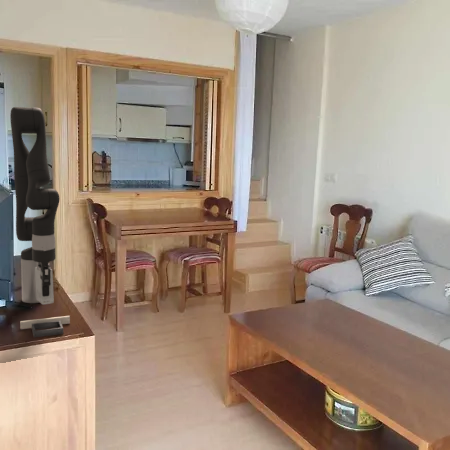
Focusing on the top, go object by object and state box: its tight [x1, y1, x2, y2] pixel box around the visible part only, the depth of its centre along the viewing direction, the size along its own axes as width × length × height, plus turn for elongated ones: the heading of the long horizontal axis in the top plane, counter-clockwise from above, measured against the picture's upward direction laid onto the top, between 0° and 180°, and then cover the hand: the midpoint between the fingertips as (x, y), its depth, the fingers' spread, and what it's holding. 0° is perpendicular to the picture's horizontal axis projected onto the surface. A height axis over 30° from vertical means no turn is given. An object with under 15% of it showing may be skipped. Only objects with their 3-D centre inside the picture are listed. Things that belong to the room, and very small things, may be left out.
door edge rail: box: [19, 315, 71, 330], centre depth 165 cm, size 1×16×2 cm, turn 117°
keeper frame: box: [31, 321, 64, 338], centre depth 160 cm, size 7×9×2 cm
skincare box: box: [35, 267, 55, 305], centre depth 167 cm, size 6×4×12 cm
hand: (44, 292), depth 167 cm, fingers closed on skincare box, 6 cm apart
